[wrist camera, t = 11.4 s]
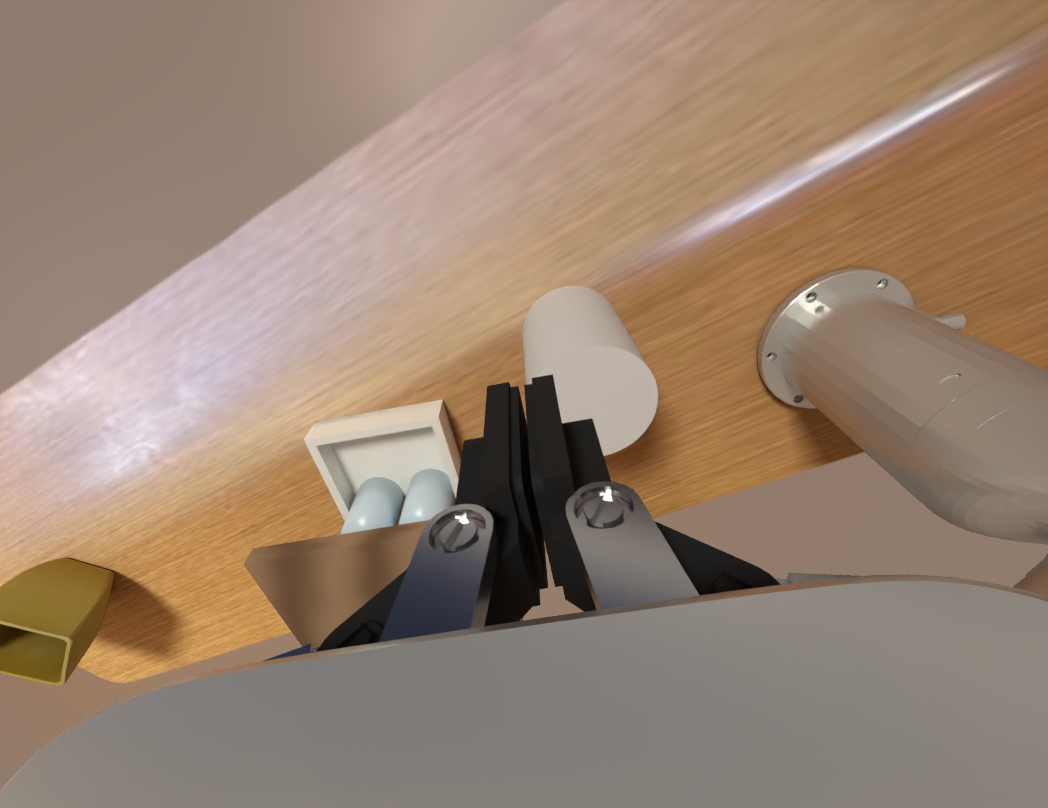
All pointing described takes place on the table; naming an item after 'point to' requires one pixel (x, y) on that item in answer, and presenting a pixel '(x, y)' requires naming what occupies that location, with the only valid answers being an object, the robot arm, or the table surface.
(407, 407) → the tray
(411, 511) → the grey rounded cylinder
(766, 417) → the table surface
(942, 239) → the table surface
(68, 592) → the flower pot
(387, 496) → the blue-grey rounded cylinder
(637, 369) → the white cylinder
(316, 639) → the counter
